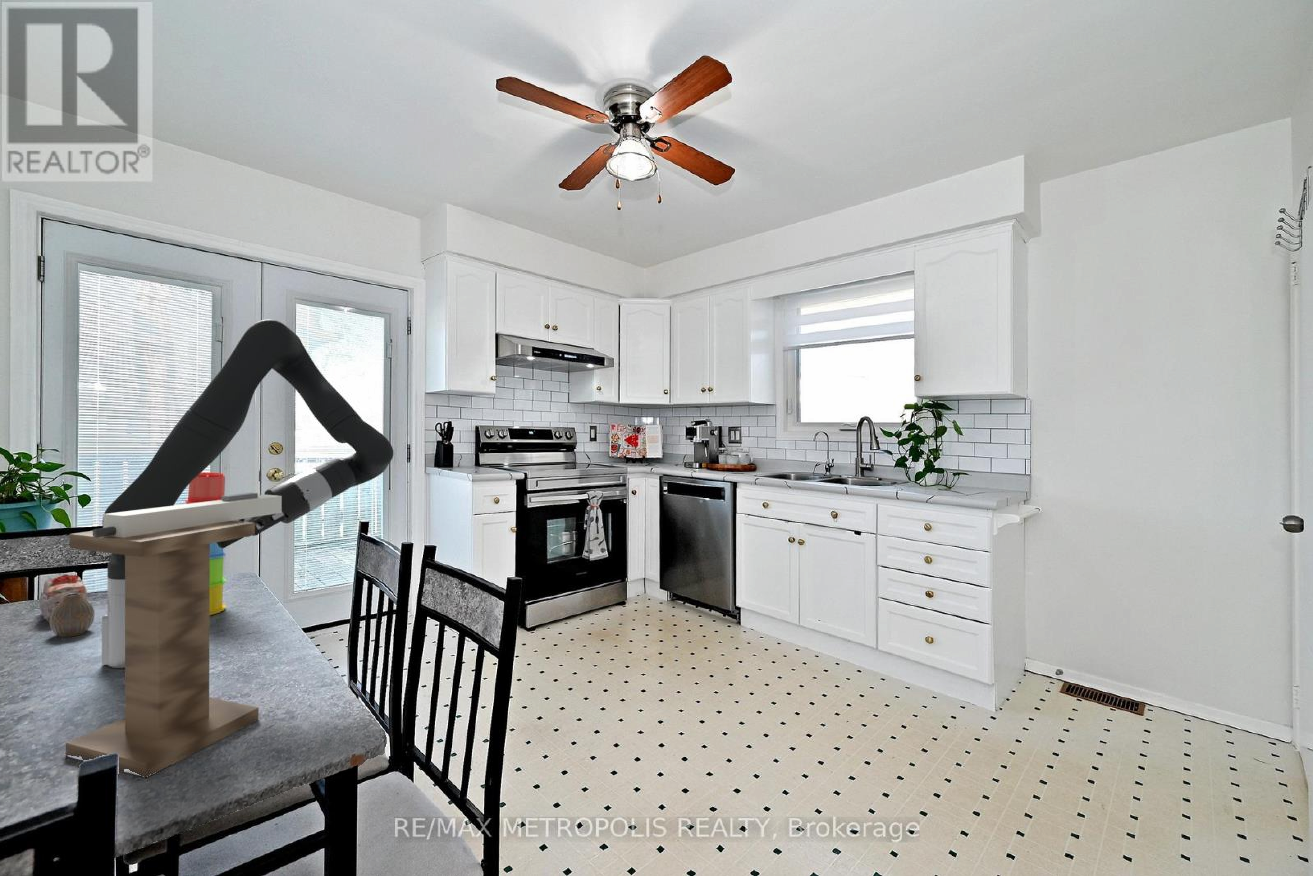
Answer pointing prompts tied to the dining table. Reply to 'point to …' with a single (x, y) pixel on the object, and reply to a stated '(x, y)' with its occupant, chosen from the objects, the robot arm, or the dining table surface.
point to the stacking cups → (204, 491)
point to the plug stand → (165, 650)
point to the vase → (72, 616)
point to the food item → (59, 592)
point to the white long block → (188, 515)
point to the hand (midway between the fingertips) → (209, 542)
